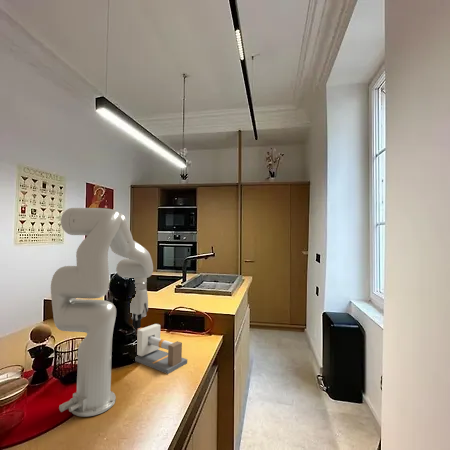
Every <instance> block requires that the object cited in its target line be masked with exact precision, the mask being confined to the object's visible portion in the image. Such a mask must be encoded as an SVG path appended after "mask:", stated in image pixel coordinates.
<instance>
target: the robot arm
mask: <svg viewBox="0 0 450 450" xmlns="http://www.w3.org/2000/svg"><path fill="white" fill-rule="evenodd" d="M60 226H61V228H62V230H63V232H65V233H66V234H68V235H71V236H86V237H84V239H83V240H82V241H81V243H79V245H78V247H77V249H76V252H75V253H76V254H75V255H76V260H75V261H76V265H65V266H62V267H59V268H58V269H56V271H55V272H54V273H53V275H52V277H51V281H50V297H51V306H52V307H51V308H52V315H53V316H52V317H53V322H54V325H55V326H54V327H56V328H57V330H60V331H62V332H72V333H74V332H76V333H86V336H85V338H84V339H82V341H81V342H80V343H79V345H78V349H77V368H76V369H77V373H76V375H77V376H76V391H75V392H74V393H72V398H70V399H69V400H67V401H65V402H63V403H62V404H59V407H58V409H59V412H60V413H63V412H64V411H66V410H68V412H70V413H72V414H73V415H75V416H77V417H82V418H83V417H84V418H86V417H88V418H89V417H94V416H97V415H100V414H103V413H105V412H106V411H108V410H110V409H111V408H112V407H113V406H114V405H115V403H116V398H117V397H116V394H115V393H114V391H111V388H112V387H111V386H112V357H113V355H112V352H113V334H114V328H115V323H116V317H117V308H116V306H115V305H114V303H113V302H111V301H108V300H104V299H102V298H103V297H104V296H106V295H107V294H108V293H109V288H110V276H109V275H110V273H109V255H108V254H109V248H110V250H111V251H112V252H113V253H114V254H115V255H118V256H120V257H122V258H124V259H121V260H120V261H118V263H117V264H116V269H115V270H116V274H117V275H118V276H119V277H121V278H127V279H129V278H134V280H135V287H136V288H135V291H136V294H135V297H134V298H132V301H131V303H130V313H132V317H131V320H132V325H133V326H134V328H135V329H136V330H139V329H141V323H142V319H143V318H145V317H146V316H147V312H148V311H149V295H148V289H147V285H148V284H147V283H148V281H147V280H148V279H147V278H150V277H151V276H152V275H153V273H154V264H153V262H154V261H153V259H152V256H151V254H150V252H149V250H147V249H146V247H145V246H143V245H141V244H140V243H139V242H137V241H135V240H134V239H133V238H134V237H133V235H132V232H131V230H130V226H129V224H128V220H127V218H126V216H125V215H124V214H123V213H122V212H119V211H117V210H115V209H111V208H105V207H103V208H102V207H70V208H67V209H66V210H65V211H64V212H63V213H62V215H61V217H60ZM100 298H101V299H100ZM132 325H131V326H132ZM135 329H134V330H135Z"/></svg>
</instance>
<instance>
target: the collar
mask: <svg viewBox="0 0 450 450" xmlns="http://www.w3.org/2000/svg"><path fill="white" fill-rule="evenodd" d="M136 331H137V332H136V333H137V334H136V335H137V355H139V356H144V355H146V354H148V353H151V352H153V351H155V350H157V349H158V350H161V348H160V347H158V346H155V345H152V344H149V343H148V337H149V336H153V337H156V338H159V339H161V324H159V323H154V324H151V325H148V326H145V327H142V328H139V329H136Z"/></svg>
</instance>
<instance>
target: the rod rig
mask: <svg viewBox="0 0 450 450" xmlns="http://www.w3.org/2000/svg"><path fill="white" fill-rule="evenodd" d="M148 343H149V344H152V345H155V346H158V347H160V349H157V350H155V351H153V352H151V353H148V354H146V355H144V356H139V355H138V356H136V357H135V361H134V362H137V363H138V364H142V365H144V366H147V367H149V368H152V369H153V370H157V371H159V372H162V373H165V374H167V375H169V374H170V373H172V372H174V371H177V369H179V368H181V367H183V366H184V365H186V364H188V359H187V358H186V357H185V358H184V357H183V356H182V355H183V354H182V353H183V343H182V342H180V341H179V340H178V341H175V342H172V341H169V340H166V339H163V338H160V339H159V338H156V337H153V336H149V337H148ZM161 349H164V350H166V351H167V352H166V351H164V350H161Z"/></svg>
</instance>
